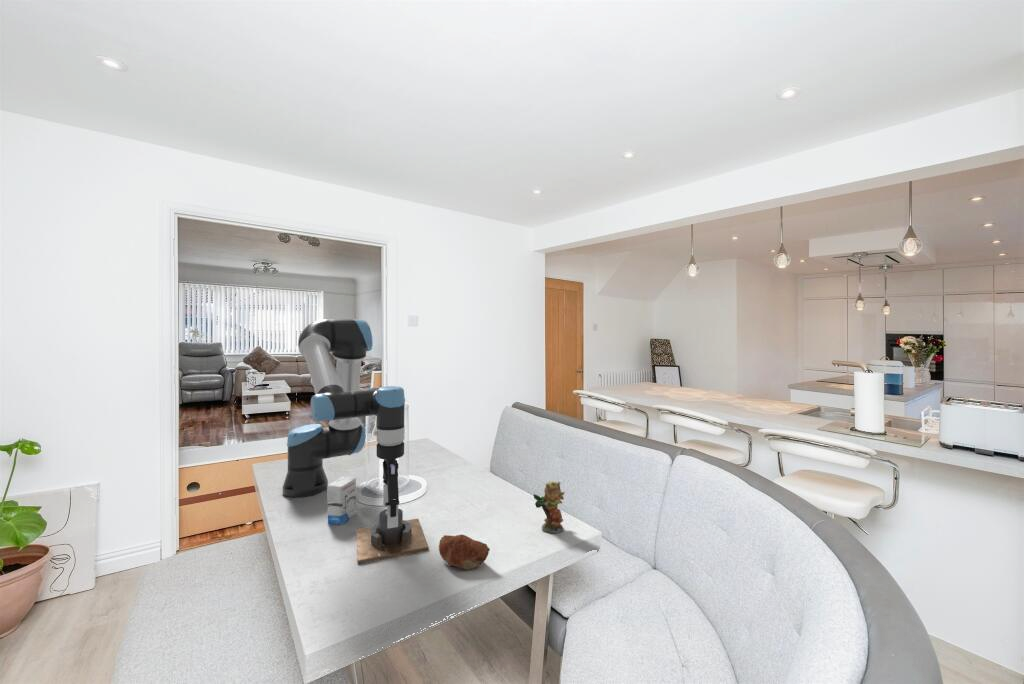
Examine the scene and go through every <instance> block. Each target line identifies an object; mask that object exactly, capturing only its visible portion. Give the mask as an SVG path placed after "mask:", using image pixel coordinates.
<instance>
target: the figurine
mask: <svg viewBox="0 0 1024 684" xmlns="http://www.w3.org/2000/svg"><path fill="white" fill-rule="evenodd" d="M561 484H562V483H561V482H560V481H558V482H557V481H553V480H549V481H548V482H547V483H545V488H544V490H543V491H544V495H543V496H541V497H540V496H539V495H537V494H533V498H534V500H536V501H535V503H534V505H535V508H537V509H539V508H541V509H542V510H543V512H544V514H545V516H546V517H545V519H544V523H542V525H541V530H542V532H545V533H548V534H557V533H561V532H564V526H563V525H562V524H561V523H563V522H564V519H563V516H562V511H561V509H559V508H558V505H559V504H563V501H562V500H565V498H564V495H565V494H566V492H565V491H561Z"/></svg>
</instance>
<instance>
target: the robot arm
mask: <svg viewBox="0 0 1024 684" xmlns="http://www.w3.org/2000/svg"><path fill="white" fill-rule="evenodd" d="M297 342H298V343H297V346H298V349H299V353H300V355H301V356H302V357H303V358H304V360H305V362H306V366H307V370H308V372H309V376H310V380H311V383H312V386H313V390H314V395H312V396H311V397H310V398H311V399H310V414H311V419H313V421H315V422H328V426H325V427H323V425H322V424H320V423H314V424H313V423H310V424H306V425H302V426H298V427H295V428H293V429H292V430H290V431H289V432H288V434H287V439H286V440H287V441H286V446H287V472H286V476H285V478H284V482H283V485H282V494H283V496H285V497H288V498H304V497H308V496H309V497H310V496H314V495H317V494H319V493H322V492H324V491H325V490H327V486H328V485H329V481H328V480H329V479H328V477H327V474H326V472H325V469H324V466H323V463H324V462H323V460H325V459H331V458H336V457H343V456H352V455H354V454H358V453H360V452H361V451H362V450H363V448H364V446H365V444H366V438H367V437H366V431H367V430H366V427H365V425H364V423H362V420H361V419H360V417H361V418H362V417H369V416H376V430H375V431H374V432H373V435H374V436H376V442H377V443H376V457H377V458H378V459H380V460H383V461H382V471H383V472H382V483H383V486H382V487H383V488H382V489H383V495H382V497H383V499H382V500H383V508H385V507H387V508H386V509H387V528H394V527H398V509H399V505H400V495H399V463H398V460H397V459H400V458H402V457H403V456H404V455H405V442H404V441H405V438H406V437H405V435H406V434H405V433H406V432H405V429H406V428H405V403H406V398H405V390H404V388H403V387H401V386H396V385H395V386H394V385H393V386H392V385H389V386H387V385H386V386H381V387H371V388H369V389H366V390H360V387H361V384H360V383H361V371H362V368H361V367H362V361H363V360H364V359H365V358H366V357H367V352H370V351H371V350H372V349H373V344H374V343H373V335H372V330H371V326H370V324H369V322H367V321H366V320H363V319H355V318H351V319H349V318H347V319H346V318H345V319H344V318H343V319H342V318H340V319H337V318H336V319H333V318H332V319H331V318H330V319H328V318H322V319H318V320H314V321H312V322H311V323H309V324H308V325H307V326H306V327H304V329H302V331H301V333H300V335H299V337H298V341H297ZM331 353H332V354H331ZM333 358H334V359H335V360H336V365H335V362H334V360H333Z"/></svg>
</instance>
